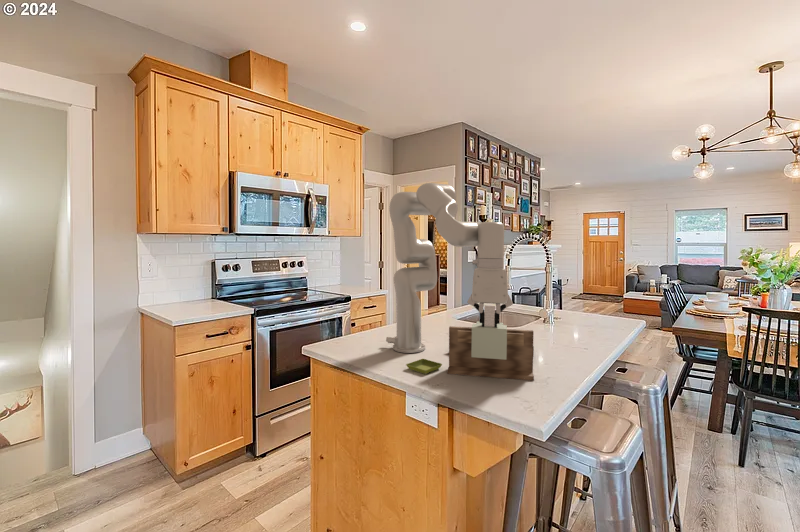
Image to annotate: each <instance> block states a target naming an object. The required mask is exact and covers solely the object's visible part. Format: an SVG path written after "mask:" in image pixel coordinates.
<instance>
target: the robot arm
mask: <svg viewBox="0 0 800 532" xmlns="http://www.w3.org/2000/svg"><path fill="white" fill-rule="evenodd" d="M456 200H457V193H456V190H455V189H454V188H453V186H451V185H450V184H447V183H436V182H426V183H423V184H421V185H419V186H418V188H417V189H416V191H400V192H396V193H395V194H394V195H393V196H392V197H391V200H390V202H389V208H388V209H389V219H390V220H391V224H392V228H393V239H394V252H395V257H396V261H397V262H398V263H400V264H403V265H404V264H405V265H410V264H411V265H412V264H413V265H415V264H418V266H412V267H411V266H410V267H409V266H408V267H403V268H402V267H401V268H399V269H397V270H396V271H395V272H394V273H393V274H394V275H393V284H394V290H395V299H396V301H395V302H396V304H395V305H396V309H395V310H396V336H394V337H391V336H386V340H385V341H386V343H388V344H393V345H392V350H393V351H395V352H398V353H402V354H416V353H420V352H423V351H425V349H426V345H425V344H424V343H422V303H421V300H420V298H419V296H418V294H417V292H425V291H432V290H433V289H435V287H436V286H437V282H438V271H437V270H438V269H437V268H438V267H437V260H436V259H437V257H436V250H435V246H434V245H433V242H432V241H430V240H428V239H424V238H423V239H422V238H421V239H420V238H417V228H416V225H415V223H414V222H413V220H412V219H411V218H410V215H411V216H433V218H435V220H434V221H435V229H436V231H437V233H438V234H439V235H440V236H441V237H442V238H443V239H444V241H446V242H447V243H448V244H450V245H451V246H453V247H458V248H459V247H470V248H471V247H477V258H476V259H472V265H473V266H476V267H477V268H474V271H473V275H472V276H473V277H472V287H471V288H472V289H471V290H472V291H471V294H470V296H469V298H468V299H467V304H469V305H470V306H472V307H474V308H475V309H476V310H477V311H478V313H479V321H480V323H482V326H483V327H484V316H485V314H484V306H485V304H495V319H494V327H497V324H499V322H500V314H501V312H503V311H505V309H506V308H509V307H510V306H513V304H514V303H513V300H512V299H511V297H510V295H509V285H508V283H509V281H508V273H507V269H505V268H504V267H505V266H504V257H505V254H504V253H505V226H504V224H503V223H502V222H500V221H483V222H480V221H459V220H457V219H455V217H456V215H457V214H458V211H459V205H458V203H457V202H456Z"/></svg>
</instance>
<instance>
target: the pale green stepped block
mask: <svg viewBox="0 0 800 532" xmlns="http://www.w3.org/2000/svg"><path fill="white" fill-rule="evenodd" d="M483 309H484V314H485V316H484V327H483V326H482V323H480V320H478V321H476V323H472V325H471V327H472V353H471V357H476V358H490V359H504V360H506V356H507V329H508V325H507V324H504V322H501V321H499V324H497V327H494V319H495V310H496V305H485V304H484V307H483Z"/></svg>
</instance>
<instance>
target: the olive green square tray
mask: <svg viewBox="0 0 800 532" xmlns="http://www.w3.org/2000/svg"><path fill="white" fill-rule="evenodd" d="M442 365H443V363H440V362H436V361H433V360H429V359H425V358H421V359H417V360H415V361H411V362H409V363H406V364H405V366H406V367H407V368H408V369H409V370H410V369H411V370H410V371H413V370H414V371H413V372H418V373H421V374H424V375H426V374H429V372H430V373H432V372H434V371H436V370H439V369H440V368H441V366H442Z"/></svg>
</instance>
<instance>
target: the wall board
mask: <svg viewBox="0 0 800 532" xmlns="http://www.w3.org/2000/svg"><path fill="white" fill-rule="evenodd" d="M533 346H534V330H533V329H532V330H531V329H529V330H528V329H512V328H511V329H510V328H507V356H506V360H504V359H490V358H476V357H471V353H472V326H471V327H470V326H451V325H450V326H449V327H448V368H447V373H446V374H447V375H456V374H458V375H460V376H473V377H484V378H497V379H498V378H499V379H511V380H512V379H513V380H523V381H524V380H525V381H534V380H535V377H534V376H535V375H534V369H533V368H534V355H533Z"/></svg>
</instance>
